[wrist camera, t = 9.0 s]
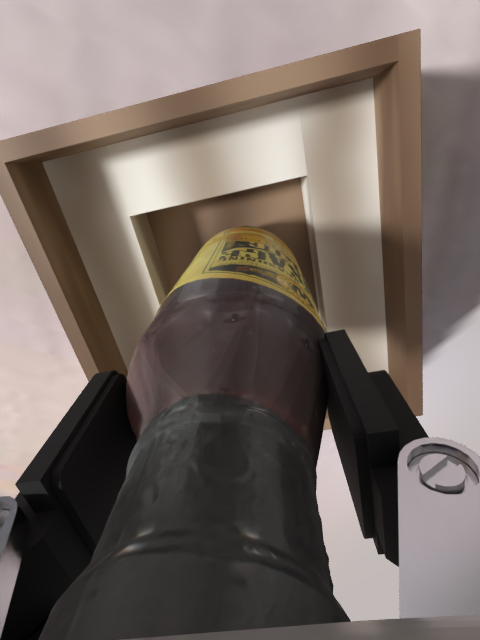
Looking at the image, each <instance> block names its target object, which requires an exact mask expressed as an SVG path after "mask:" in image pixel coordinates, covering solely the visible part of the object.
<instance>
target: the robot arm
mask: <svg viewBox="0 0 480 640" xmlns="http://www.w3.org/2000/svg"><path fill="white" fill-rule="evenodd" d="M318 343H319V347H320V351H321V356H322V360H323V365H324V371H325V377H326V383H327V389H328V396H329V400H328V406H327V409H328V416H329V421H330V425H331V429H332V432H333V435H334V439H335V442H336V446H337V449H338V452H339V456H340V459H341V463H342V466H343V469H344V473H345V476H346V480H347V483H348V486H349V490H350V493H351V496H352V500H353V503H354V507H355V510H356V513H357V517H358V520H359V523H360V527H361V530H362V534H363V536H364V538H365V539H367V538H373V539H374V543H375V546H376V549H377V552H378V554H385V557H386V558H387V559H388V560H390V561H391V562H392V563H394V564H395V565H397V566H398V567H399V599H400V601H399V602H400V619H386V620H368V621H353V622H340V623H327V624H314V625H301V626H288V627H275V628H262V629H249V630H236V631H223V632H210V633H198V634H186V635H174V636H161V637H149V638H137V639H125V640H480V457H479V456H478V454H477V453H475V452H474V451H472V450H471V449H469V448H467V447H466V446H465V445H462V444H460V443H457V442H455V441H452V440H448V439H443V438H429V437H428V435H427V434H426V432H425V431H424V429H423V428H422V426H421V424H420V423H419V421H418V420H417V418H416V416H415V415H414V413H413V412H412V410H411V409H410V407H409V405H408V404H407V402H406V401H405V399H404V398H403V396H402V394H401V393H400V391H399V390H398V388H397V386H396V385H395V383H394V382H393V380H392V379H391V377H390V375H389V374H388V373H387V371H385V370H380V371H374V372H367V370H366V368H365V366H364V364H363V362H362V361H361V359H360V357H359V355H358V353H357V351H356V349H355V348H354V346H353V344H352V342H351V340H350V338H349V337H348V335H347V333H346V331H345V330H344V329H343V330H337V331H332V332H326V333H324V338H321V339H318ZM126 382H127V380H126V377H125V376H124V375H123V374H119V373H118V372H117V371H116V370H112V371H106V372H101V373H96V374H95V375H94V376H93V377H92V379H91V380H90V381H89V383H88V384H87V386H86V387H85V388H84V390H83V391H82V393H81V394H80V395H79V397H78V398H77V399H76V401H75V402H74V404H73V405H72V406H71V408H70V409H69V411H68V412H67V413H66V415H65V416H64V417H63V419H62V420H61V422H60V423H59V424H58V426H57V427H56V429H55V430H54V431H53V433H52V434H51V435H50V437H49V438H48V440H47V441H46V442H45V444H44V445H43V447H42V448H41V449H40V451H39V452H38V453H37V455H36V456H35V458H34V459H33V460H32V462H31V463H30V465H29V466H28V467H27V469H26V470H25V471H24V473H23V474H22V476H21V477H20V478H19V480H18V481H17V483H16V484H15V485H16V486H17V488H18V489H19V491H20V492H19V494H18V495H17V497H16V498H15V499H14V498H12V497H10V496H1V497H0V640H38V639H39V637H40V635H41V633H42V631H43V629H44V626H45V624H46V622H47V620H48V617H49V614H50V612H51V610H52V608H53V607H54V605H55V603H56V602H57V600H58V599H59V598H60V597H61V596H62V594H63V593H64V592H65V591H66V590H67V589H68V587H69V586H70V585H71V584H72V583H73V582H74V581H75V580H76V579H77V578H78V576H79V575H80V574H81V573H82V572H83V571H84V570H85V569H86V568H87V566H88V565H89V564H90V562H91V559H92V556H93V553H94V551H95V549H96V546H97V544H98V542H99V540H100V538H101V536H102V534H103V531H104V528H105V526H106V523H107V520H108V518H109V516H110V513H111V511H112V509H113V507H114V505H115V503H116V500H117V496H118V493H119V491H120V490H121V488H122V485H123V483H124V482H125V478H126V469H127V465H128V460H129V458H130V455H131V452H132V450H133V448H134V446H135V444H136V443H137V440H136V436H135V434H134V432H133V430H132V428H131V424H130V421H129V418H128V415H127V409H126Z"/></svg>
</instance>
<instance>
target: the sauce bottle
mask: <svg viewBox="0 0 480 640" xmlns="http://www.w3.org/2000/svg"><path fill="white" fill-rule="evenodd" d="M326 332H327V330H326V328H325V327H324V324H323V321H322V319H321V318H320V315H319V313H318V311H317V308H316V305H315V301H314V299H313V297H312V294H311V293H310V291H309V288H308V285H307V283H306V281H305V279H304V277H303V275H302V273H301V270H300V268H299V265H298V263H297V261H296V258H295V257H294V255H293V253H292V252H291V250H290V249H289V247H288V246H287V245H286V244H285V243H284V242H283V241H282V240H281V239H279V238H278V237H277V236H276V235H274V234H272V233H270V232H268V231H266V230H264V229H261V228H256V227H252V226H241V227H235V228H230V229H227V230H224V231H222V232H220V233H218V234H216V235H215V236H214V237H212V238H211V239H210V240H209V241H208V242H206V243H205V244H204V246H203V247H202V248H201V249H200V251H199V252H198V253H197V255H196V256H195V258H194V259H193V261H192V262H191V264H190V265H189V267H188V268H187V269H186V271H185V272H184V273H183V275H182V276H181V278H180V279H179V280H178V282H177V283H176V285H175V286H174V287H173V289H172V290H171V291H170V293H169V294H168V295H167V297H166V298H165V299H164V301H163V302H162V304H161V305H160V307H159V309H158V311H157V312H156V314H155V317H154V320H153V321H152V322H151V324H150V325H149V327H148V328H147V330H146V331H145V332H144V334H143V335H142V336H141V338H140V340H139V343H138V345H137V346H136V350H135V352H134V354H133V357H132V359H131V363H130V367H129V371H128V376H127V378H126V379H127V382H126V409H127V415H128V418H129V421H130V424H131V428H132V430H133V432H134V434H135V436H136V440H137V443H136V444H135V446H134V448H133V450H132V452H131V455H130V458H129V460H128V465H127V469H126V478H125V482H124V483H123V485H122V488H121V490H120V491H119V493H118V496H117V500H116V503H115V505H114V507H113V509H112V511H111V513H110V516H109V518H108V520H107V523H106V526H105V528H104V531H103V534H102V536H101V538H100V540H99V542H98V544H97V546H96V549H95V551H94V553H93V556H92V559H91V562H90V564H89V565H88V566H87V568H86V569H85V570H84V571H83V572H82V573H81V574H80V575H79V576H78V578H77V579H76V580H75V581H74V582H73V583H72V584H71V585H70V586H69V587H68V589H67V590H66V591H65V592H64V593H63V594H62V596H61V597H60V598H59V599H58V600H57V602H56V603H55V605H54V607H53V608H52V610H51V612H50V614H49V617H48V620H47V622H46V624H45V626H44V629H43V631H42V633H41V635H40V637H39V639H38V640H125V639H137V638H149V637H161V636H174V635H186V634H198V633H210V632H223V631H236V630H249V629H262V628H275V627H288V626H301V625H314V624H327V623H340V622H351V621H350V619H349V618H348V616H347V615H346V613H345V611H344V610H343V608H342V607H341V605H340V604H339V602H338V601H337V600H336V599H335V597H334V595H333V583H332V580H331V576H330V570H329V566H328V565H329V558H328V555H327V553H326V548H325V545H324V542H323V532H322V522H321V518H320V515H319V512H318V504H317V499H316V479H317V475H316V466H317V460H318V455H319V450H320V445H321V439H322V433H323V428H324V422H325V417H326V411H327V406H328V400H329V396H328V389H327V383H326V377H325V371H324V365H323V360H322V356H321V351H320V347H319V343H318V339H321V338H324V333H326Z"/></svg>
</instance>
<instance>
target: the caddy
mask: <svg viewBox="0 0 480 640" xmlns="http://www.w3.org/2000/svg"><path fill="white" fill-rule="evenodd" d="M0 195H1V197H2V199H3V201H4V203H5V205H6V207H7V210H8V212H9V214H10V216H11V218H12V220H13V222H14V224H15V227H16V229H17V231H18V233H19V235H20V237H21V239H22V241H23V243H24V246H25V248H26V250H27V252H28V254H29V256H30V258H31V260H32V263H33V265H34V267H35V269H36V271H37V273H38V275H39V277H40V280H41V282H42V284H43V286H44V288H45V290H46V292H47V294H48V296H49V299H50V301H51V303H52V305H53V307H54V309H55V311H56V313H57V316H58V318H59V320H60V322H61V324H62V326H63V328H64V330H65V332H66V335H67V337H68V339H69V341H70V343H71V345H72V347H73V349H74V352H75V354H76V356H77V358H78V360H79V362H80V364H81V366H82V368H83V371H84V373H85V375H86V377H87V379H88V381H90V380H91V379H92V377H93V376H94V375H95V374H96V373H101V372H106V371H112V370H116V371H117V372H118V373H119V374H123V375H124V376H125V377H126V378H127V376H128V371H129V367H130V363H131V359H132V357H133V354H134V352H135V350H136V346H137V345H138V343H139V340H140V338H141V336H142V335H143V334H144V332H145V331H146V330H147V328H148V327H149V325H150V324H151V322H152V321H153V320H154V317H155V314H156V312H157V311H158V309H159V307H160V305H161V304H162V302H163V301H164V299H165V298H166V297H167V295H168V294H169V293H170V291H171V290H172V289H173V287H174V286H175V285H176V283H177V282H178V280H179V279H180V278H181V276H182V275H183V273H184V272H185V271H186V269H187V268H188V267H189V265H190V264H191V262H192V261H193V259H194V258H195V256H196V255H197V253H198V252H199V251H200V249H201V248H202V247H203V246H204V244H205V243H206V242H208V241H209V240H210V239H211V238H212V237H214V236H215V235H216V234H218V233H220V232H222V231H224V230H227V229H230V228H235V227H241V226H252V227H256V228H261V229H264V230H266V231H268V232H270V233H272V234H274V235H276V236H277V237H278V238H279V239H281V240H282V241H283V242H284V243H285V244H286V245H287V246H288V247H289V249H290V250H291V252H292V253H293V255H294V257H295V258H296V261H297V263H298V265H299V268H300V270H301V273H302V275H303V277H304V279H305V281H306V283H307V285H308V288H309V291H310V293H311V294H312V297H313V299H314V301H315V305H316V308H317V311H318V313H319V315H320V318H321V319H322V321H323V324H324V327H325V328H326V330H327V332H332V331H337V330H343V329H344V330H345V331H346V333H347V335H348V337H349V338H350V340H351V342H352V344H353V346H354V348H355V349H356V351H357V353H358V355H359V357H360V359H361V361H362V362H363V364H364V366H365V368H366V370H367V372H374V371H380V370H385V371H387V373H388V374H389V375H390V377H391V379H392V380H393V382H394V383H395V385H396V386H397V388H398V390H399V391H400V393H401V394H402V396H403V398H404V399H405V401H406V402H407V404H408V405H409V407H410V409H411V410H412V412H413V413H414V415H415V416H421V415H423V399H422V398H423V397H422V395H423V390H422V387H423V384H422V211H421V38H420V29H417V30H413V31H409V32H405V33H402V34H398V35H394V36H390V37H387V38H383V39H379V40H375V41H372V42H368V43H364V44H360V45H357V46H353V47H349V48H346V49H342V50H338V51H334V52H331V53H327V54H323V55H319V56H316V57H312V58H308V59H304V60H301V61H297V62H293V63H289V64H286V65H282V66H278V67H274V68H271V69H267V70H263V71H259V72H256V73H252V74H248V75H245V76H241V77H237V78H233V79H230V80H226V81H222V82H218V83H215V84H211V85H207V86H203V87H200V88H196V89H192V90H188V91H185V92H181V93H177V94H173V95H170V96H166V97H162V98H158V99H155V100H151V101H147V102H143V103H140V104H136V105H132V106H129V107H125V108H121V109H117V110H114V111H110V112H106V113H102V114H99V115H95V116H91V117H87V118H84V119H80V120H76V121H72V122H69V123H65V124H61V125H57V126H54V127H50V128H46V129H42V130H39V131H35V132H31V133H28V134H24V135H20V136H16V137H13V138H9V139H5V140H1V141H0ZM126 380H127V379H126ZM327 429H331V425H330V421H329V416H328V409H327V411H326V417H325V422H324V428H323V430H327Z"/></svg>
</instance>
